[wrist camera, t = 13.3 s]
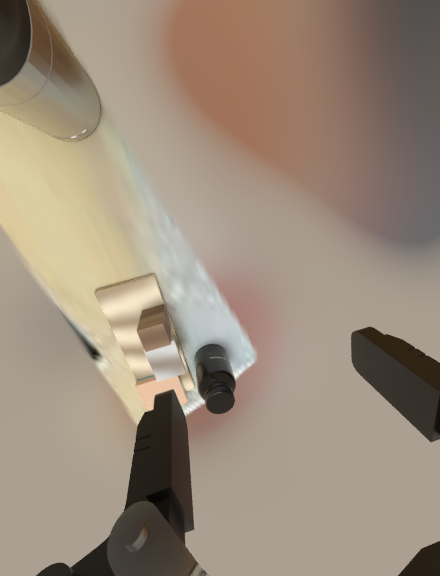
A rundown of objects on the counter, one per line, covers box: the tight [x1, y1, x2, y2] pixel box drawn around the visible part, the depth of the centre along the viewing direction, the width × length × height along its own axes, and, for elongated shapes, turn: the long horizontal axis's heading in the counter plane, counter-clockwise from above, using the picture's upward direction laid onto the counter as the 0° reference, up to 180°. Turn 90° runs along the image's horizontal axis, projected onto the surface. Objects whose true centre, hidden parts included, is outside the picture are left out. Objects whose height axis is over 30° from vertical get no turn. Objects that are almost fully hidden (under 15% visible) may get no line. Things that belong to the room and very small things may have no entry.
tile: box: [136, 375, 188, 411], centre depth 48 cm, size 2×8×8 cm
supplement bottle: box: [195, 345, 236, 414], centre depth 44 cm, size 7×7×12 cm
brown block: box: [137, 304, 186, 382], centre depth 41 cm, size 11×5×7 cm, turn 13°
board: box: [94, 274, 195, 392], centre depth 45 cm, size 26×10×1 cm, turn 13°
